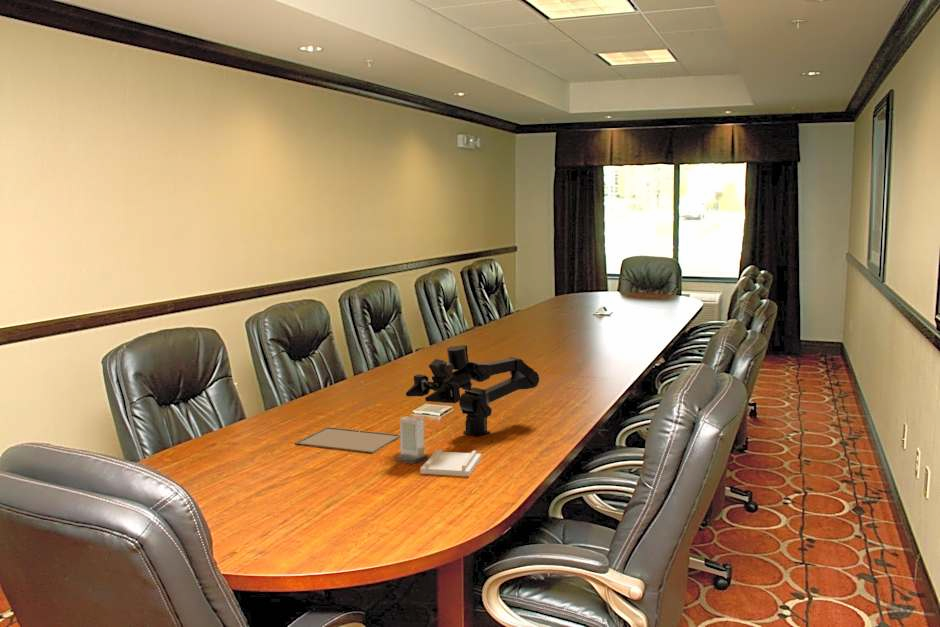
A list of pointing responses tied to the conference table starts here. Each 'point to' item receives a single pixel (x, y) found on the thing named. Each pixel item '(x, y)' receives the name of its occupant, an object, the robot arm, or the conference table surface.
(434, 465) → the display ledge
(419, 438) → the tall brushed metal block
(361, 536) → the conference table surface
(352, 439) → the grey flat bordered slab
